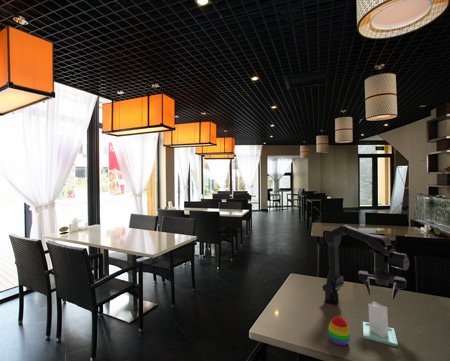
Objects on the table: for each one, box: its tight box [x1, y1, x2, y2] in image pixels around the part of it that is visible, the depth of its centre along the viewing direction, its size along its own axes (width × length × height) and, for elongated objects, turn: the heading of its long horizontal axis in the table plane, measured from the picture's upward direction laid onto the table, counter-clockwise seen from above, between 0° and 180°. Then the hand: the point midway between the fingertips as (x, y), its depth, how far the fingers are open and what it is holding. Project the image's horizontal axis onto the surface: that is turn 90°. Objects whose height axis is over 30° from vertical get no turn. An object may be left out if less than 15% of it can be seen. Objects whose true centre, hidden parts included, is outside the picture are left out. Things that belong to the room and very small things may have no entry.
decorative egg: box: [328, 316, 351, 346], centre depth 103 cm, size 8×8×10 cm
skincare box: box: [368, 301, 389, 338], centre depth 108 cm, size 6×4×12 cm
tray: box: [362, 321, 399, 348], centre depth 108 cm, size 12×12×1 cm
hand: (381, 296), depth 116 cm, fingers open, 9 cm apart
